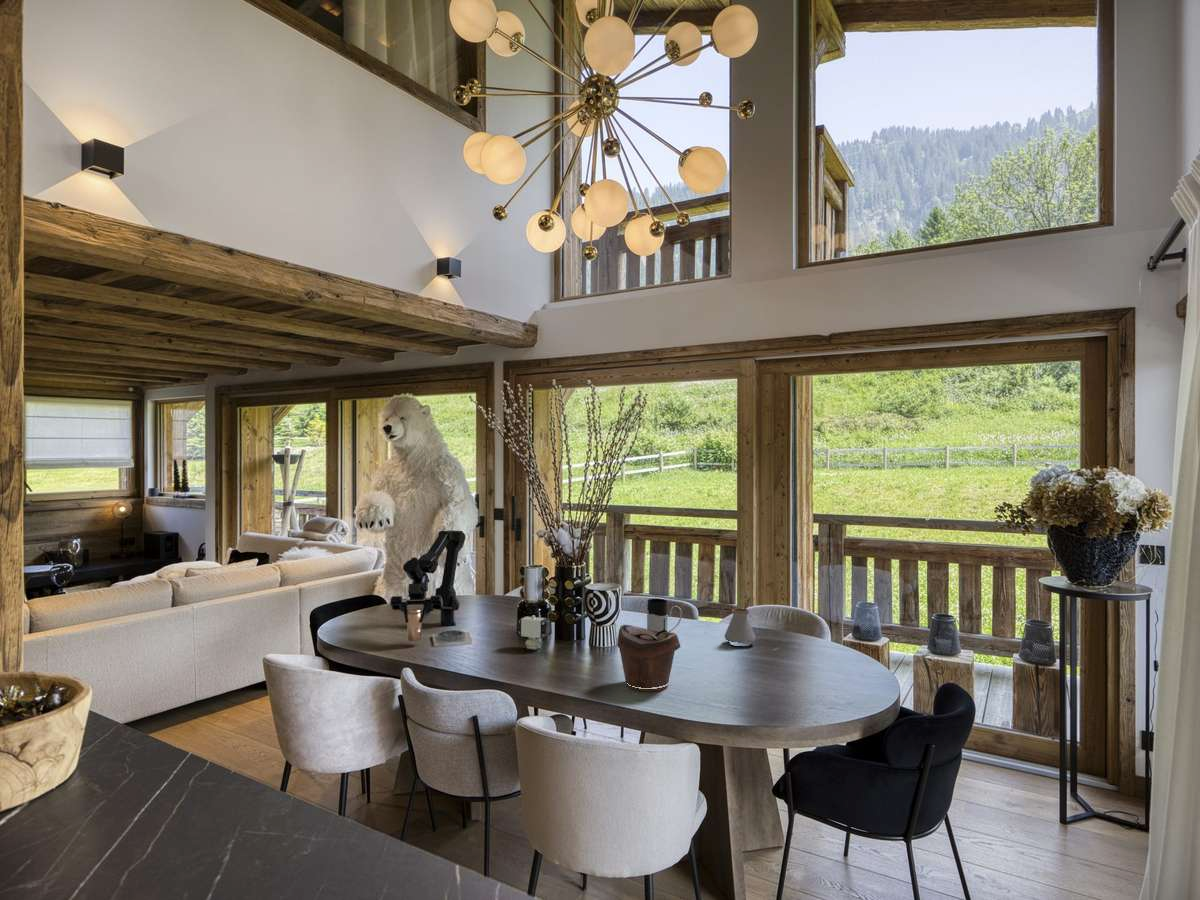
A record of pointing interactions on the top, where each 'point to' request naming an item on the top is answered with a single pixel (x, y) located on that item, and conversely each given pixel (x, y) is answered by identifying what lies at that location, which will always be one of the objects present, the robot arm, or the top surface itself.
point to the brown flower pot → (646, 656)
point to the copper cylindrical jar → (414, 624)
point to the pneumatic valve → (533, 630)
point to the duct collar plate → (451, 638)
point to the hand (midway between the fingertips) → (413, 622)
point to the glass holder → (658, 615)
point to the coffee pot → (740, 626)
